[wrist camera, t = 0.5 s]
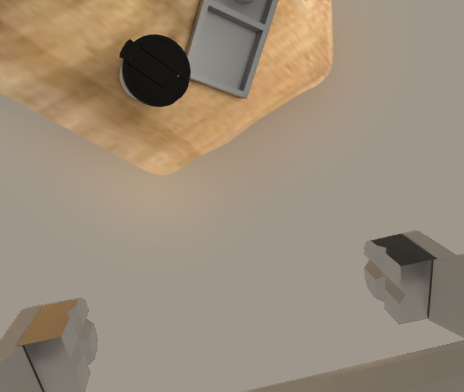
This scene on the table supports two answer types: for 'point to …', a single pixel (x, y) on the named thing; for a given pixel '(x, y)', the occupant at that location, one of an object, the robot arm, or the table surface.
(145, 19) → the table surface
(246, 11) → the caddy
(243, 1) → the white cylinder
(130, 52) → the travel mug
